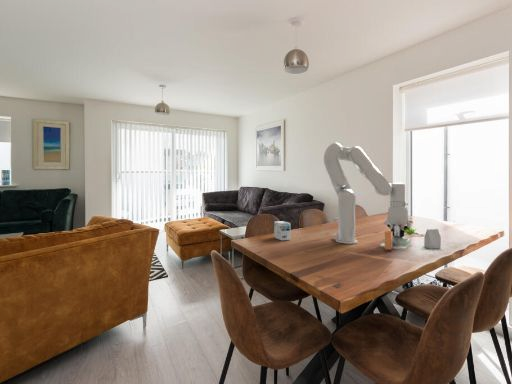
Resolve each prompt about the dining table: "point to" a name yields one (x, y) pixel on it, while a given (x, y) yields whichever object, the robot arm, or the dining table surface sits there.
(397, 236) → the grey rounded piece
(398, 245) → the dock
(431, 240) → the grey white box
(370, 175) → the robot arm
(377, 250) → the dining table surface
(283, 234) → the light bulb box
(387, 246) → the pin
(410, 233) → the plant
